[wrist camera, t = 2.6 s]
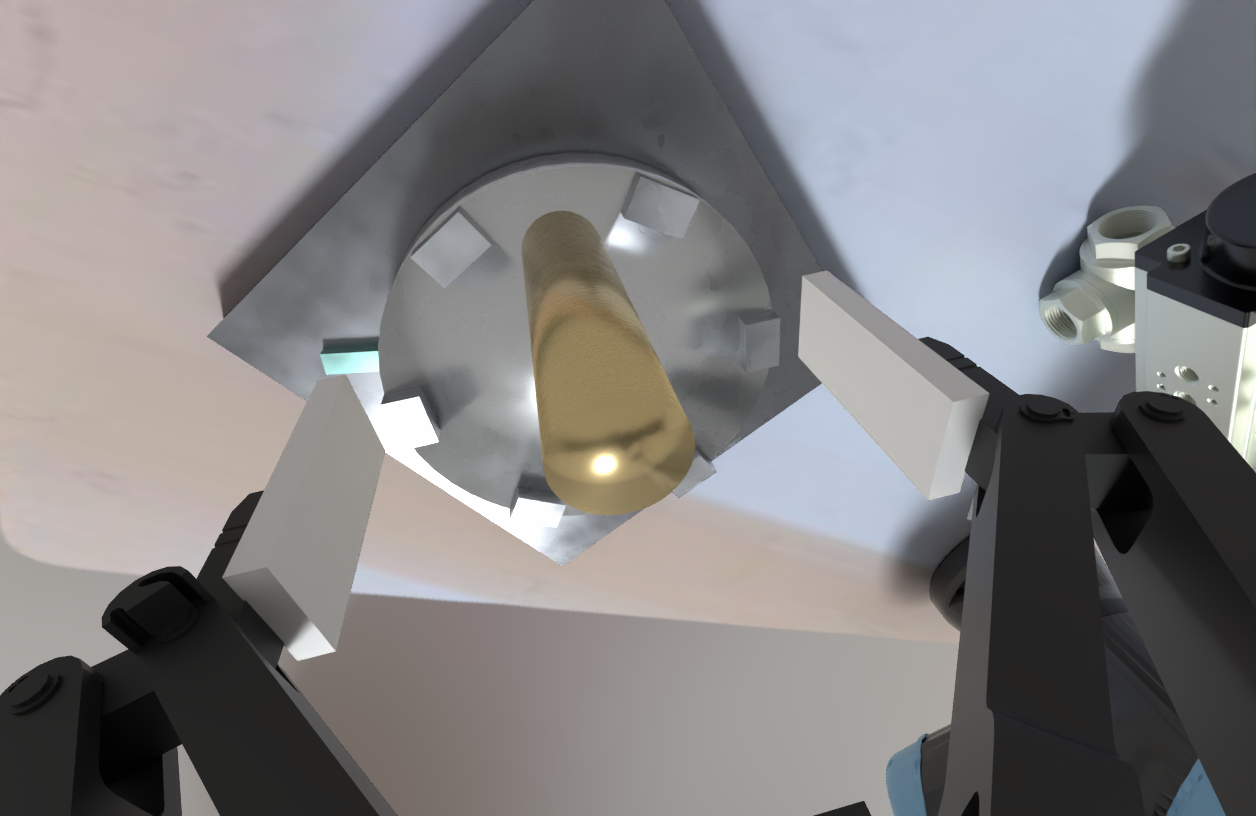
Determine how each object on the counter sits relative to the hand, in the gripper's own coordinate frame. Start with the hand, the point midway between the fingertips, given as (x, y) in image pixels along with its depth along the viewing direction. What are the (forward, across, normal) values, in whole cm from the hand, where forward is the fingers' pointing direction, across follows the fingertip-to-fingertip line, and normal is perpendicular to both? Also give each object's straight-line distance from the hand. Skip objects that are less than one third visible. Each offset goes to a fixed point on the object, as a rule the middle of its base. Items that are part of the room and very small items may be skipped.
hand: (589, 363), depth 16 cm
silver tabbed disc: (+13, 0, +7) cm, 15 cm away
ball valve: (+16, -35, +11) cm, 40 cm away
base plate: (+16, 0, +7) cm, 17 cm away
